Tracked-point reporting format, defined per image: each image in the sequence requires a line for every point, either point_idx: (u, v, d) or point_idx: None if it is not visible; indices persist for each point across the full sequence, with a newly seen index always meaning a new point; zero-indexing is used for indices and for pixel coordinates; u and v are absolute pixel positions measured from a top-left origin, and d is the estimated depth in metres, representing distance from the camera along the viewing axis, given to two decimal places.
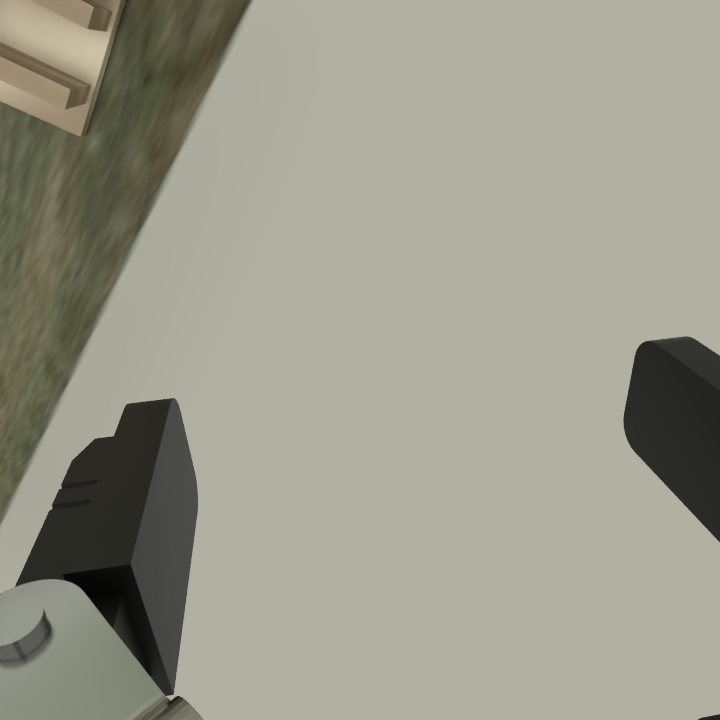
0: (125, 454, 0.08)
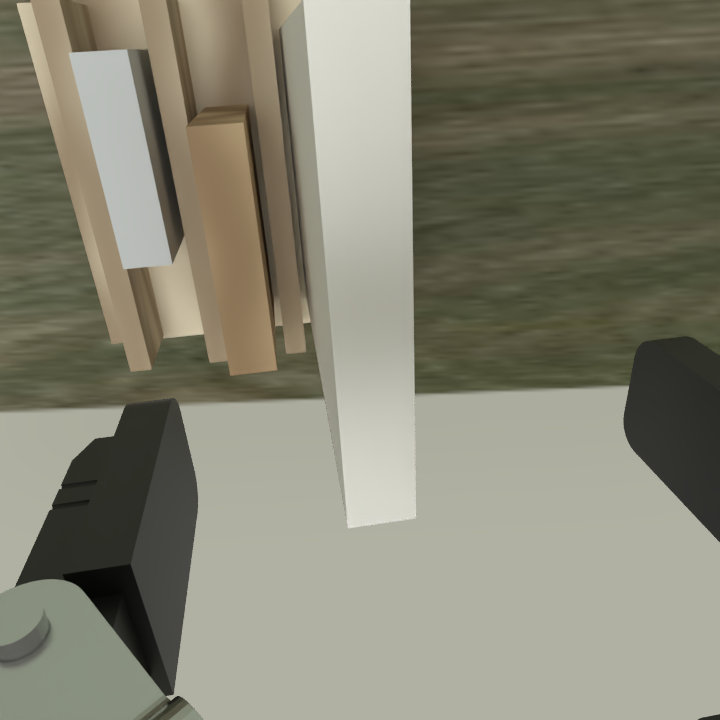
0: (125, 454, 0.08)
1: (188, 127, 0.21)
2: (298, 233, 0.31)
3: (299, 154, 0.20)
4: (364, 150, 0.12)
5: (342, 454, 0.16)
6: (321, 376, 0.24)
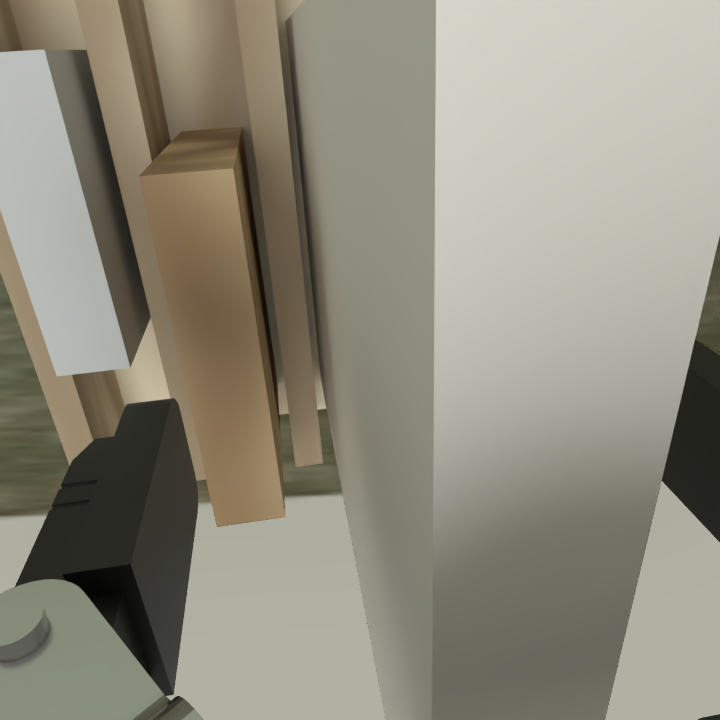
0: (125, 454, 0.08)
1: (143, 176, 0.13)
2: (310, 297, 0.23)
3: (326, 223, 0.12)
4: (570, 339, 0.04)
5: None
6: (353, 542, 0.16)
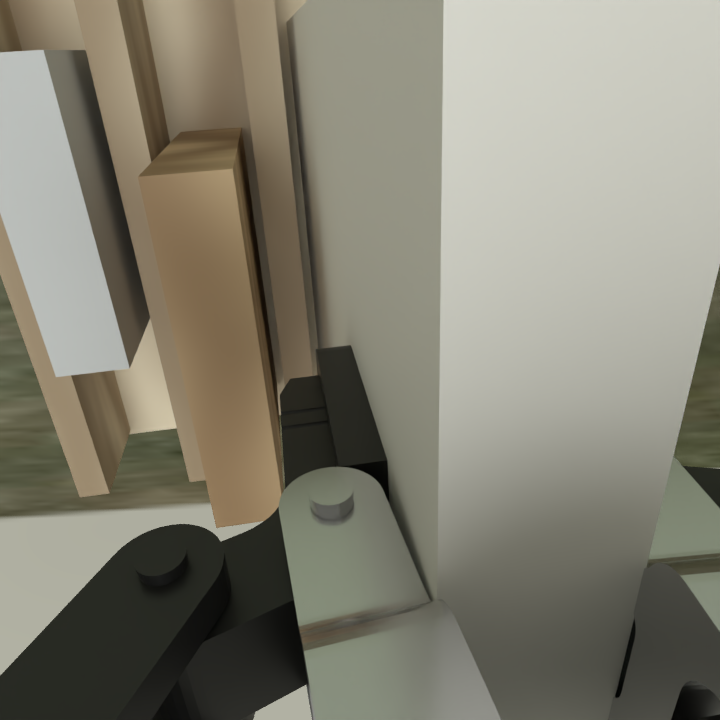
0: (339, 385, 0.09)
1: (142, 177, 0.13)
2: (310, 298, 0.23)
3: (327, 224, 0.12)
4: (576, 341, 0.04)
5: None
6: None
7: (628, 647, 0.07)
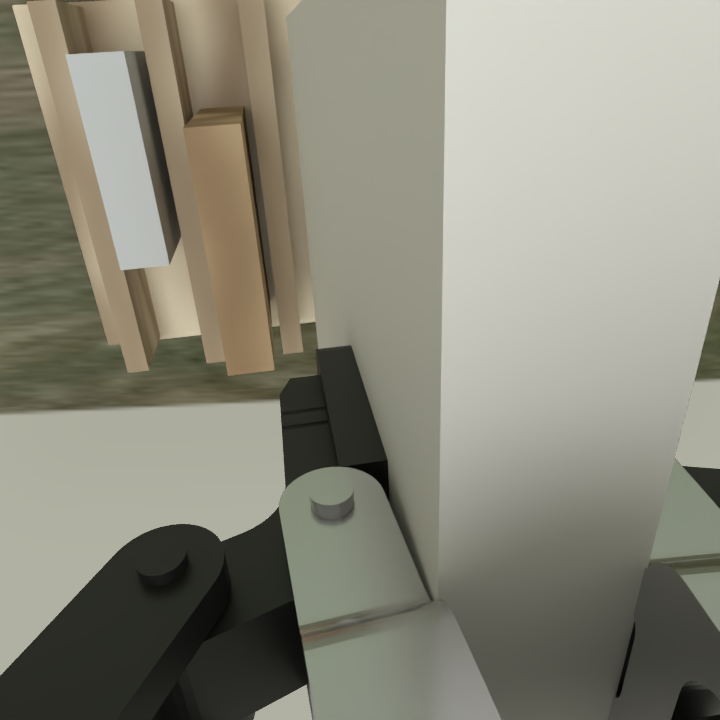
0: (339, 384, 0.09)
1: (185, 128, 0.21)
2: (294, 234, 0.31)
3: (327, 220, 0.12)
4: (577, 338, 0.04)
5: None
6: None
7: None
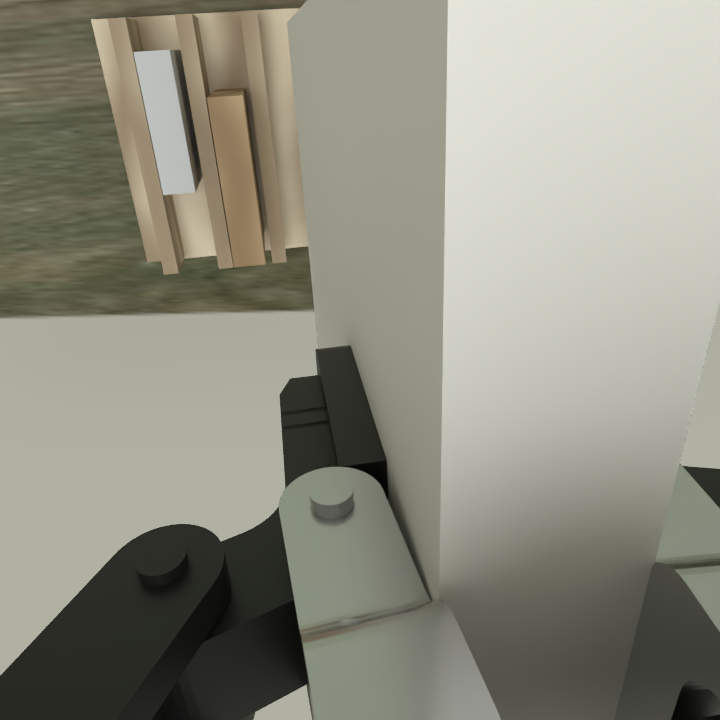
0: (339, 384, 0.09)
1: (208, 98, 0.33)
2: (281, 180, 0.44)
3: (327, 225, 0.12)
4: (581, 342, 0.04)
5: None
6: None
7: None
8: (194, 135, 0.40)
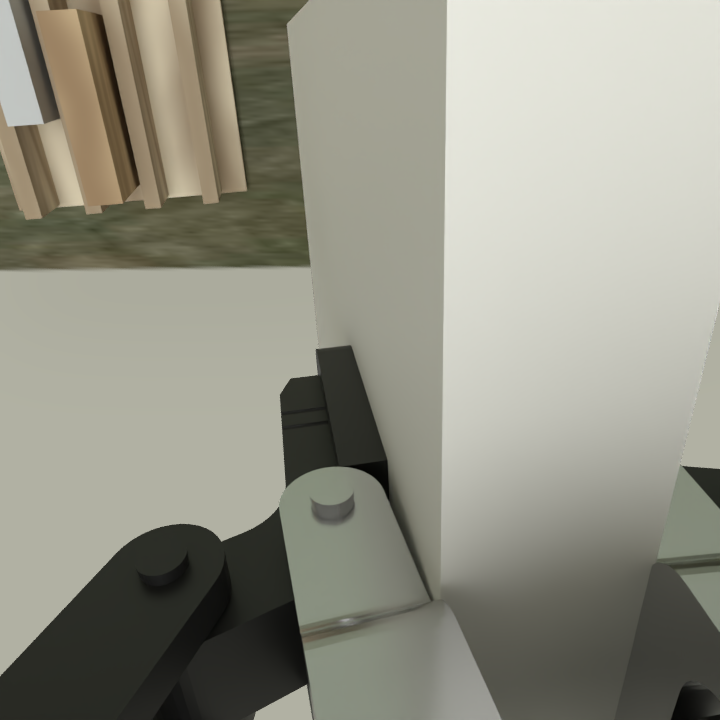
0: (339, 384, 0.09)
1: (37, 11, 0.30)
2: (159, 121, 0.41)
3: (328, 226, 0.12)
4: (581, 347, 0.04)
5: None
6: None
7: None
8: None
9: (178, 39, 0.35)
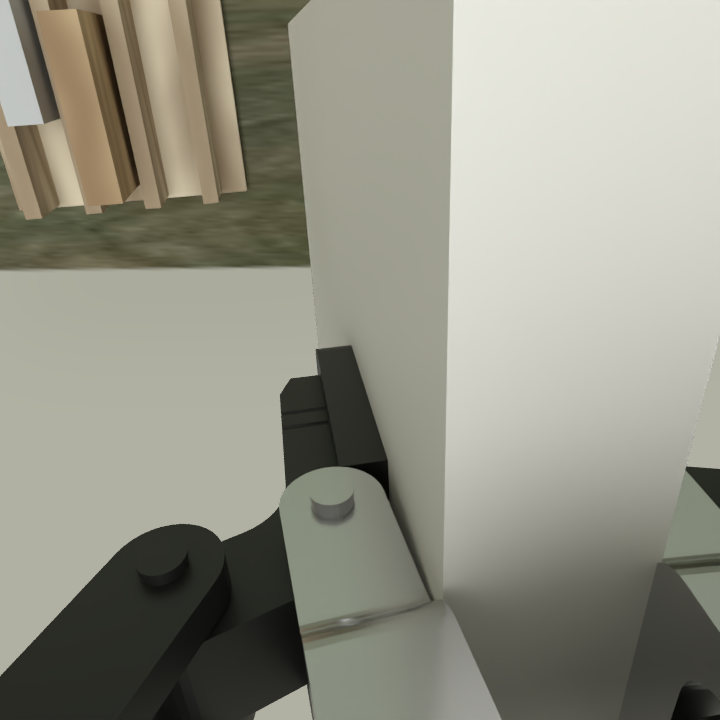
0: (339, 384, 0.09)
1: (37, 11, 0.30)
2: (159, 121, 0.41)
3: (329, 227, 0.12)
4: (586, 349, 0.04)
5: None
6: None
7: None
8: None
9: (178, 39, 0.35)
